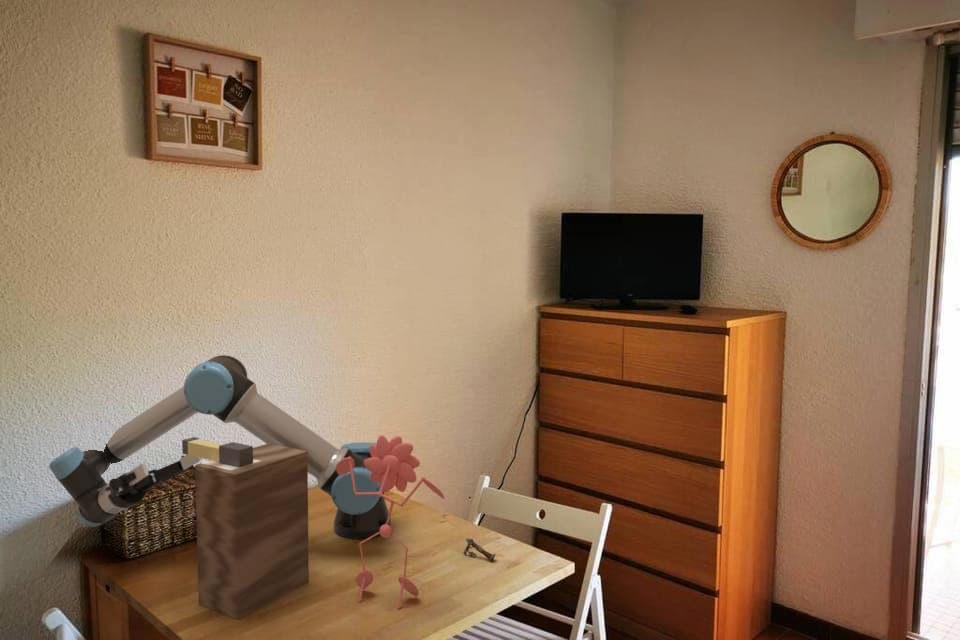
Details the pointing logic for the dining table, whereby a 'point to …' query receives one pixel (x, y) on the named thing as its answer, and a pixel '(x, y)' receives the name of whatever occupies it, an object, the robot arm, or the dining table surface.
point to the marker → (219, 451)
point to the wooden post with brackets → (478, 548)
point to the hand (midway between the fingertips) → (173, 461)
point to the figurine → (391, 470)
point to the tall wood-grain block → (252, 530)
